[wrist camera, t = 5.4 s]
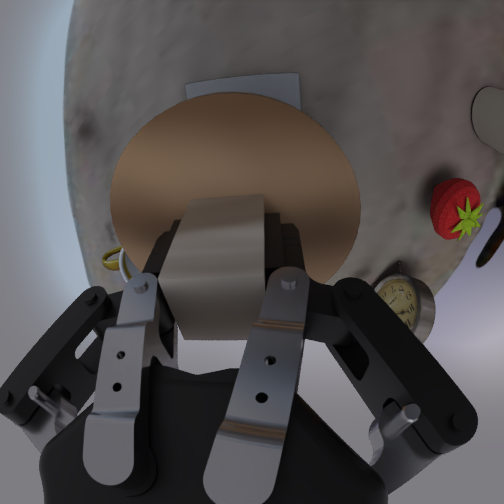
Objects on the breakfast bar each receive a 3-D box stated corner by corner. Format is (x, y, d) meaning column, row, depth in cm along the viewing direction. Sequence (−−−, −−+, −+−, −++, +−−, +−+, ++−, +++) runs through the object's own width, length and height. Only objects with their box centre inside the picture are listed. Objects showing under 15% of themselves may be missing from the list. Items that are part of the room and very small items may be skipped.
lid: (91, 120, 11) (4, 175, 6) (360, 88, 10) (437, 121, 5) (156, 301, 18) (131, 381, 13) (342, 294, 17) (361, 380, 12)
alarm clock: (396, 251, 36) (441, 347, 24) (420, 262, 37) (464, 351, 25) (354, 302, 43) (377, 395, 30) (378, 309, 44) (404, 396, 31)
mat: (186, 83, 24) (184, 84, 24) (297, 72, 23) (298, 73, 23) (202, 179, 31) (201, 182, 31) (302, 172, 30) (303, 174, 30)
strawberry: (405, 203, 32) (441, 252, 24) (433, 153, 27) (482, 192, 19) (434, 218, 33) (470, 267, 25) (462, 174, 28) (507, 214, 20)
